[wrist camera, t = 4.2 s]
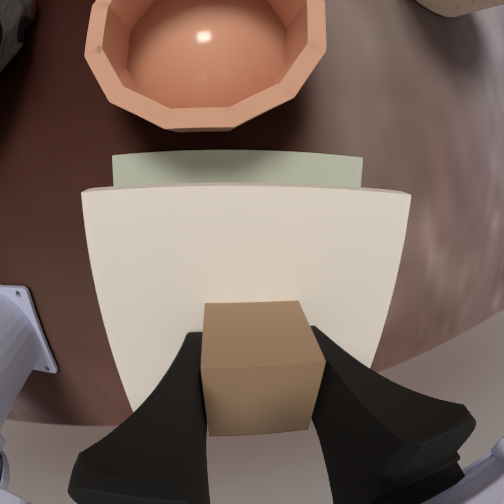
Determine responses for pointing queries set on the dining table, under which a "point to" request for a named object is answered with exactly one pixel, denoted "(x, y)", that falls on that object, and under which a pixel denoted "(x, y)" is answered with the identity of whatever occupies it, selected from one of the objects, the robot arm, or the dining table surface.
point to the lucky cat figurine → (14, 26)
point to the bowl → (204, 57)
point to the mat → (236, 167)
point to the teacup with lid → (458, 6)
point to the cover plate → (243, 287)
